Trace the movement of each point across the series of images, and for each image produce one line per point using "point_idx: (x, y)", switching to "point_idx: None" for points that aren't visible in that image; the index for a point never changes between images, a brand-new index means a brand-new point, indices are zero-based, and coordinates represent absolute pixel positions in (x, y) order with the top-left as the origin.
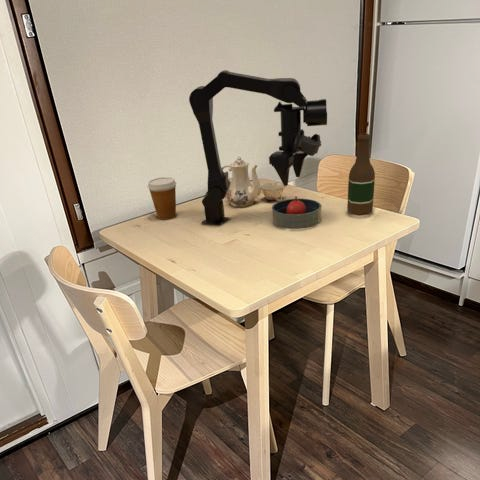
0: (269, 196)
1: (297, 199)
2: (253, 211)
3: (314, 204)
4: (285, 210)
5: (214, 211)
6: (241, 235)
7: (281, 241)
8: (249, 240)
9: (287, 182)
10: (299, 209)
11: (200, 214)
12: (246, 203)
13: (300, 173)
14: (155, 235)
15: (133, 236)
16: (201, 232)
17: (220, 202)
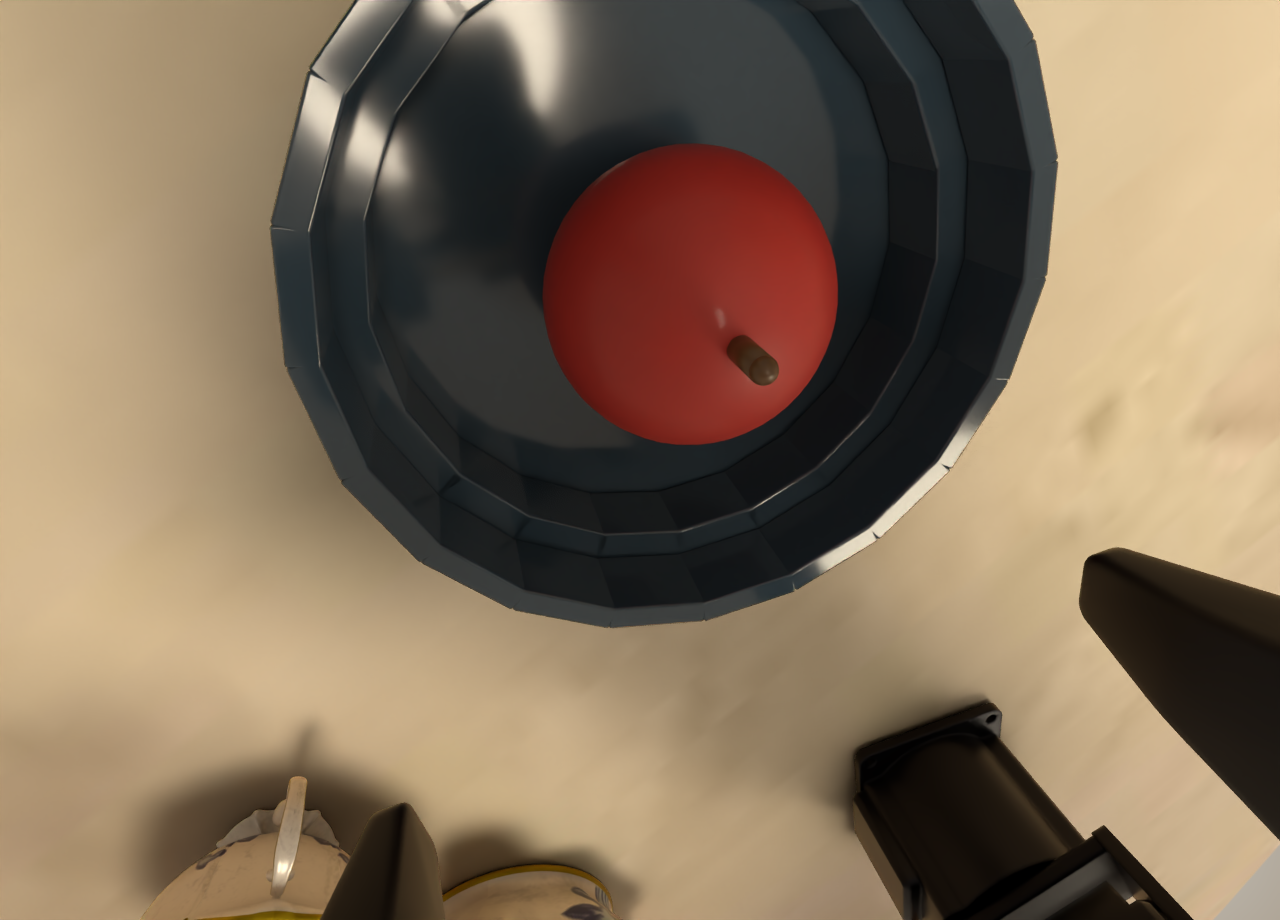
0: None
1: (416, 518)
2: (616, 759)
3: (323, 202)
4: (574, 509)
5: (1050, 815)
6: (1116, 453)
7: (1191, 23)
8: (1202, 324)
9: (1205, 575)
10: (791, 190)
11: (842, 908)
12: (563, 889)
13: (339, 890)
14: (1193, 802)
15: (1216, 848)
16: (1114, 687)
17: (998, 890)
